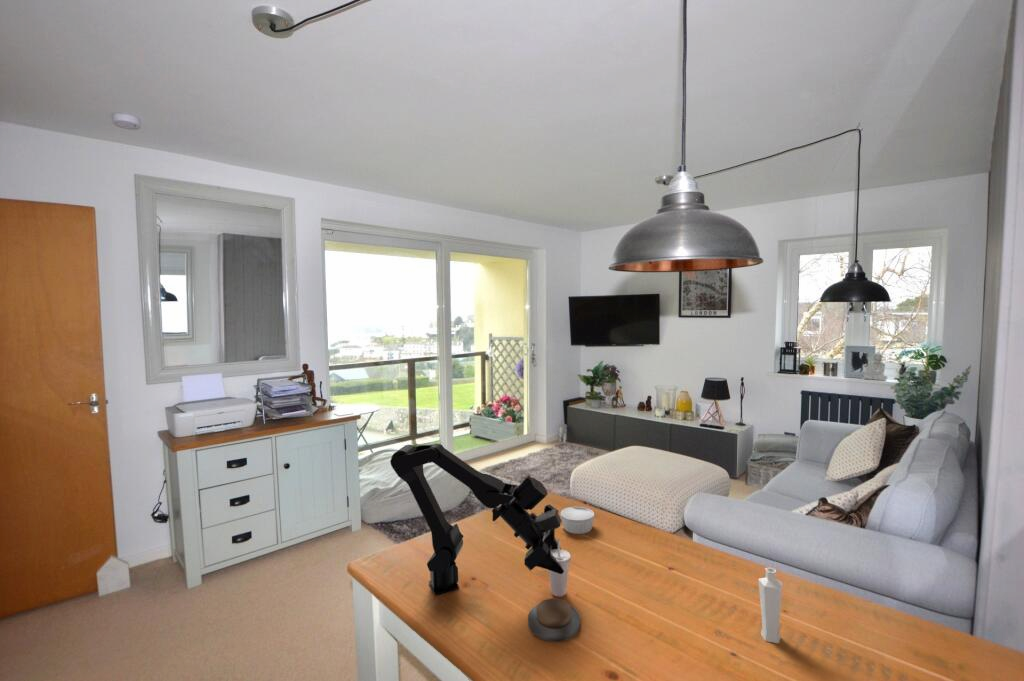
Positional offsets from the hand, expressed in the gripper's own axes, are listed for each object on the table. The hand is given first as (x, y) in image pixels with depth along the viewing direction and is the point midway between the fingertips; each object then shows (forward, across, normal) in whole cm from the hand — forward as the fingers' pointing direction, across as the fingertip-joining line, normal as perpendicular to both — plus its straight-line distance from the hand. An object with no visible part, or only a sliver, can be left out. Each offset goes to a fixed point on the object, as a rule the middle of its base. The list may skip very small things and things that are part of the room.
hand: (563, 565), depth 119 cm
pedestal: (+4, -11, +6) cm, 14 cm away
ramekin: (+7, +38, +4) cm, 39 cm away
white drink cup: (+4, 0, +6) cm, 7 cm away
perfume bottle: (+37, -10, -27) cm, 47 cm away
